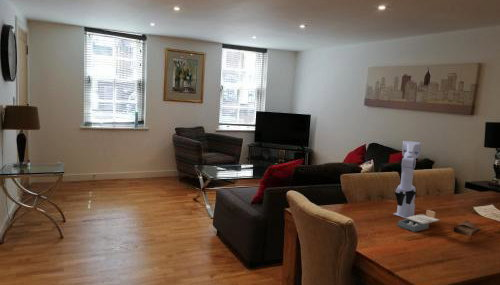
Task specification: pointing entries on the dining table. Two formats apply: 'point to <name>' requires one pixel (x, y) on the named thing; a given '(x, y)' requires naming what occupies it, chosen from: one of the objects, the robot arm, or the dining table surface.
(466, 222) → the sunglasses case
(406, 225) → the tub
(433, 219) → the lid
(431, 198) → the dining table surface
